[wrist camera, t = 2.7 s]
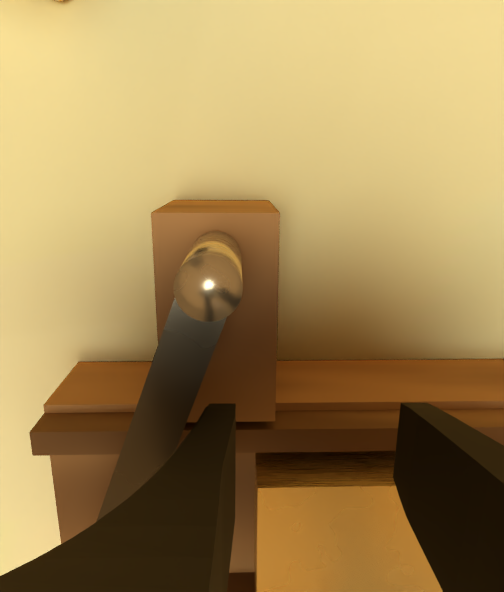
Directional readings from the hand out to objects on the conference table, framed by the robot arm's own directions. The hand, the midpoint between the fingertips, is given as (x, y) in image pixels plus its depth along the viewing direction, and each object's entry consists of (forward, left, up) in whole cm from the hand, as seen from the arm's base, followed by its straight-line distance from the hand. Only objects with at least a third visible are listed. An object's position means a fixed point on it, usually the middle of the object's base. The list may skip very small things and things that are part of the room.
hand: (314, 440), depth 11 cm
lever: (0, +4, -1) cm, 4 cm away
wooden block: (-4, -3, -2) cm, 5 cm away
